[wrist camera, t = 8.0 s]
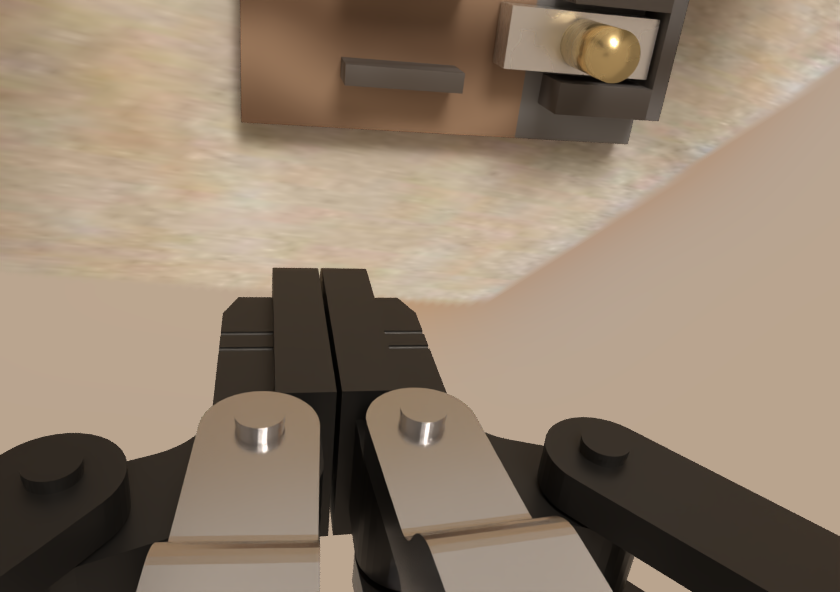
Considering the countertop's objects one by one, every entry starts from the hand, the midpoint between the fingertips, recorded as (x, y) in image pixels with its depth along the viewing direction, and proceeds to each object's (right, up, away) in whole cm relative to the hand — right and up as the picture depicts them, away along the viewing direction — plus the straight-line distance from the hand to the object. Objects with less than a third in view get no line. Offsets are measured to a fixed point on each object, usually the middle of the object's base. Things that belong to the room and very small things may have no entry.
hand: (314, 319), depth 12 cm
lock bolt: (+10, +14, +26) cm, 31 cm away
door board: (+3, +15, +26) cm, 30 cm away
